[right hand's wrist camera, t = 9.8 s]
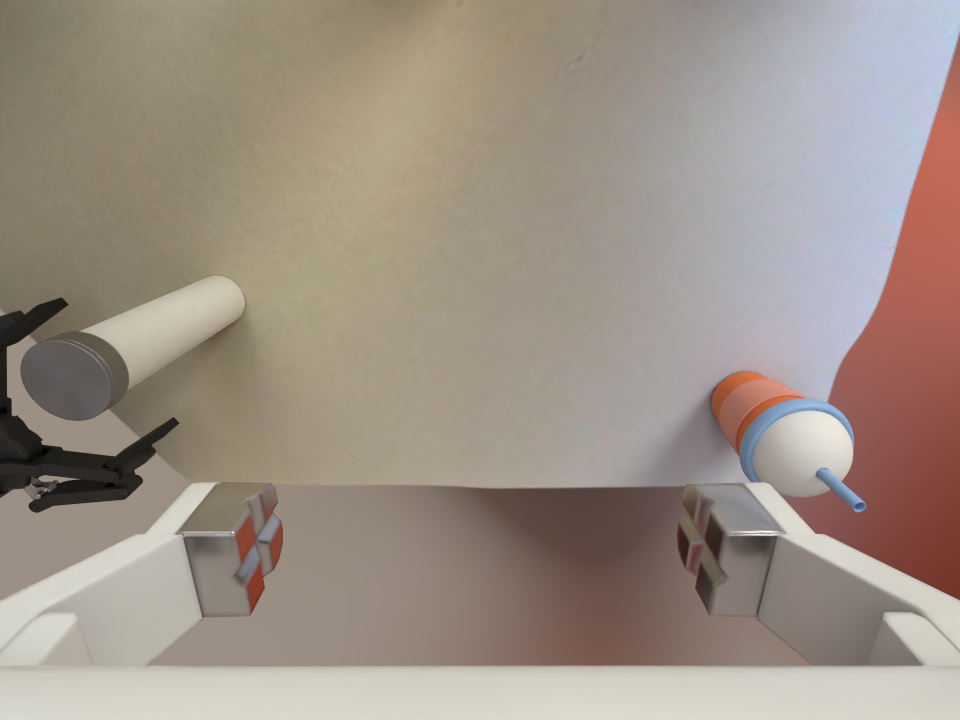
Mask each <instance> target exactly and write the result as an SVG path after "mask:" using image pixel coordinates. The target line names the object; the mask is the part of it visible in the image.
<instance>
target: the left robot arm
mask: <svg viewBox="0 0 960 720" xmlns="http://www.w3.org/2000/svg"><path fill="white" fill-rule="evenodd" d="M67 305H69V304H68V303H67V302H66V301H65V300H64V299H63V298H59V299H56V300H53V301H49V302H46V303H43V304H40V305H37V306H36V307H35V308H33V309H32V310H31V311H29V312H28V313H27V314H25V315H24V314H23V313H22V312H21V311H16V312H12V313H9V314H6V315H3V316H0V498H1V497H2V496H4V495H5V494H7V493H8V492H10V491H11V490H13V489H22V488H23V489H24V490H25V491H26V492H27V493H28V494H29V495H30V496H31V498H32V499H33V500H34V501H32V502H31V503H30V504H29V508H30V510H31V511H33V512H36V513H38V512H41V511H43V510H45V509H47V508H49V507H52V506H56V505H68V504H79V503H91V502H102V501H114V500H124V499H126V498H127V497H128V496H129V495H130V494H131V493H133V492H134V491H135V490H136V489H137V488H138V487H139V486H140V485H141V484H142V482H143V479H142V478H141V477H140V476H139V475H136V474H135V472H134V470H135V469H137V468H138V467H140V466H141V465H143V464H144V463H146V462H147V461H148V460H149V459H150V458H151V457H152V456H154V454H155V453H156V450H155V449H154V448H153V447H152V446H151V445H152V444H153V443H155V442H156V441H158V440H160V439H161V438H163V437H164V436H165V435H166V434H167V433H169V432H170V431H171V430H172V429H173V428H174V427H175V426H177V425H178V424H179V422H178V421H177V420H176V419H175V418H174V417H173V418H172V419H170V420H168V421H167V422H165V423H164V424H162V425H161V426H159V427H158V428H156V429H155V430H153V431H152V432H150V433H149V434H147V435H145V436H144V437H142V438H141V439H139V440H138V441H136V442H135V443H133V444H132V445H130V446H129V447H127V448H126V449H124V450H123V451H122V452H120V453H119V454H118V455H117V456H115V457H114V456H106V455H97V454H89V453H80V452H72V451H64V450H63V449H62V448H61V447H56V446H47V445H42V443H41V441H42V439H41V438H40V437H39V436H38V435H37V434H36V433H34V432H33V431H31V430H29V429H28V427H27V426H26V425H25V423H24V422H23V421H22V420H21V419H20V418H19V417H18V416H15V417H14V416H12V414H11V413H12V412H11V411H12V406H11V398H8V397H7V347H8V346H10V345H13V344H15V343H18V342H19V341H21V340H22V339H23V338H24V337H26V336H27V335H29V334H30V333H31V332H33V331H34V330H35V329H37V328H38V327H39V326H41V325H42V324H43V323H45V322H46V321H47V320H49V319H50V318H51V317H53V316H54V315H55V314H57V313H58V312H59V311H61V310H62V309H63V308H65V307H66V306H67ZM43 475H50V476H59V477H67V478H76V479H80V480H70V481H65V482H62V483H59V482H58V481H56V480H54V481H53V482H42V481H40V480H39V479H38V478H39V477H40V476H43Z"/></svg>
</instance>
